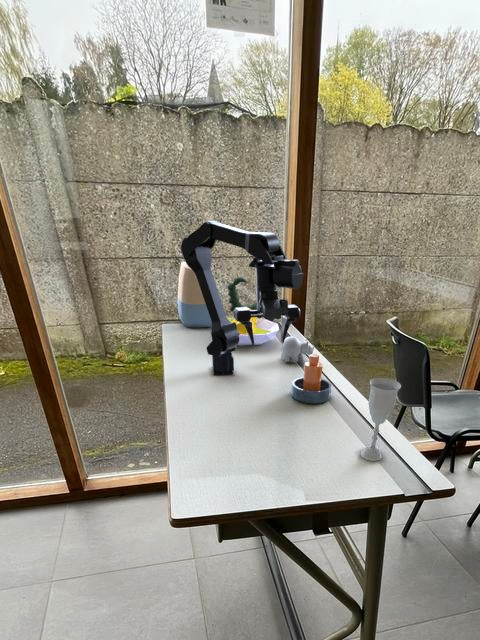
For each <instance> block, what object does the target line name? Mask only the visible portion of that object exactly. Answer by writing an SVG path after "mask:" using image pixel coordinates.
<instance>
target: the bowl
mask: <svg viewBox="0 0 480 640" xmlns="http://www.w3.org/2000/svg"><path fill="white" fill-rule="evenodd" d="M303 380H304V376H303V377H298V378H296V379H294V380H292V383H291V397H292V398H293V399H295V400H296V401H299V402H301V403H305V404H311V405H312V404H314V405H315V404H316V405H317V404H321V403H325V402H328V401H329V400H330V399H331V396H332V383H331V382H330V381H328V380H326V379H324V378H321V385H320V391H308V390H303Z"/></svg>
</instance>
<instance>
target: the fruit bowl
mask: <svg viewBox="0 0 480 640" xmlns="http://www.w3.org/2000/svg"><path fill="white" fill-rule="evenodd" d="M248 309H249V308H248ZM249 310H251V309H249ZM226 317H227V319H228V320H229V321H230V322H231V323H233V322H235V323H236V325H237V330H238V332H239V334H240V335H239V343H238V345H237V346H240V347H241V346H242V347H243V346H256V345H263V344H265V343H267V342H269V341H271V340H272V339H273V338H274V337H275V336H276V335H277V333H278V332H279V331H280V330H279V329H280V328H279V324H278V323H276V322H274V321H272V322H271V321H269V320H266V319H265V318H257V317H251V319H250V321H251V322H252V330H253V337H254V345H252V343H251V340H250V338H249V335H248V332H247V330H246V328H245V326H244V325H243V324H241V323H240V322H237V321H236V319H235V318H234V316H232V317H231V316H230V317H229V316H227V315H226Z"/></svg>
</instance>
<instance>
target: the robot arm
mask: <svg viewBox="0 0 480 640" xmlns="http://www.w3.org/2000/svg"><path fill="white" fill-rule="evenodd" d="M217 241H219V242H222V243H225V244H229V245H231V246H234V247H237V248H240V249H242V250H244V251H246V253H247V254H249V255H250V256H252V257H253V259H252V260H251V262H249V264H248V267H249V268H254V269H255V286H256V287H255V288H256V289H255V293H256V303H257V310H249V309H248V308H247V307H241V308H235V309H234V311H233V317H234V318H235V319H236V321H237V322H240V323H241V324H243V325H244V326H245V328H246V330H247V332H248V335H249V338H250V340H251V343H252V345H251V346H255V345H254V337H253V330H252V322H251V321H250V319H251V317H261V318H263V319H266V320H270V319H274V320H281V328H280V333H281V334H280V339H281V340H280V341H281V343H284V341H285V338H287V334H288V331H289V329H290V326H291V324H293V323H294V322H296V321H297V319H300V318H301V309H300V307H298V306H297V305H296V304H289V300H288V299H287V298H281V299H279V297H278V296H279V295H278V294H279V293H278V289H277V288H281V289H291V290H299V289H300V288H301V286H302V284H303V280H304V273H303V271H302V267H301V265H300V261H299V259H291V260H289V259H288V257H287V256H286V254H285V252H284V250H283V249H282V247H281V244H280V242H279V238H278V236H277V234H275V233H274V232H262V231H261V232H259V231H258V232H257V231H255V232H253V231H248V230H244V229H241V228H237V227H234V226H231V225H227V224H225V223H221V222H219V221H217V220H205V221H204V222H203V223H202V224H200V226H199V227H198V228H197V229H196V230H194V231H193V232H192V233H190V234H188V236H187V237H185V238H183V239H182V241H181V244H180V247H179V249H180V253H181V255H182V257H183V260H184V262H186V264H187V265H188V266H189V267H190V268H191V269H192V271H193V272H194V273H195V275H196V278H197V280H198V283H199V286H200V289H201V292H202V295H203V298H204V301H205V304H206V307H207V310H208V313H209V315H210V318H211V321H212V327H210V328H211V329H210V336H211V342H210V343H209V344H208V345H207V346H206V347H205V349H206V352H207V355H208V356H211V361H212V362H211V363H212V364H211V365H212V366H211V370H212V373H213V375H214V376H215V375H216V376H218V375H219V376H220V375H233V374H234V371H235V358H234V355H233V354H232V353H233V352H236V349H237V347H238V346H239V345H238V343H239V335H240V334H239V332H238V330H237V325H236V323H235V322H233V323H231V322H230V321H229V320H228V319H227V317H228V316H227V314H226V311H225V308H224V305H223V302H222V299H221V296H220V293H219V290H218V287H217V283H216V280H215V278H214V273H213V271H212V262H213V261H212V260H213V256H212V251H211V250H212V249H213V248H214V247H215V246H216V243H217ZM260 312H262V313H260ZM226 316H227V317H226Z"/></svg>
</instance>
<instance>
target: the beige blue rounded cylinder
mask: <svg viewBox="0 0 480 640" xmlns="http://www.w3.org/2000/svg"><path fill="white" fill-rule="evenodd" d="M177 291H178V292H177V313H178V315H179V318H180V321H181V323H182V324H183V326H185V327H186V328H187V327H188V328H212V321H211V318H210V315H209V313H208V310H207V307H206V304H205V301H204V298H203V295H202V292H201V289H200V286H199V283H198V280H197V278H196V275H195V273H194V272H193V271H192V269H191V268H190V267H189V266H188V265H187V264H186V261H181V262H180V268H179V274H178V289H177Z"/></svg>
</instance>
